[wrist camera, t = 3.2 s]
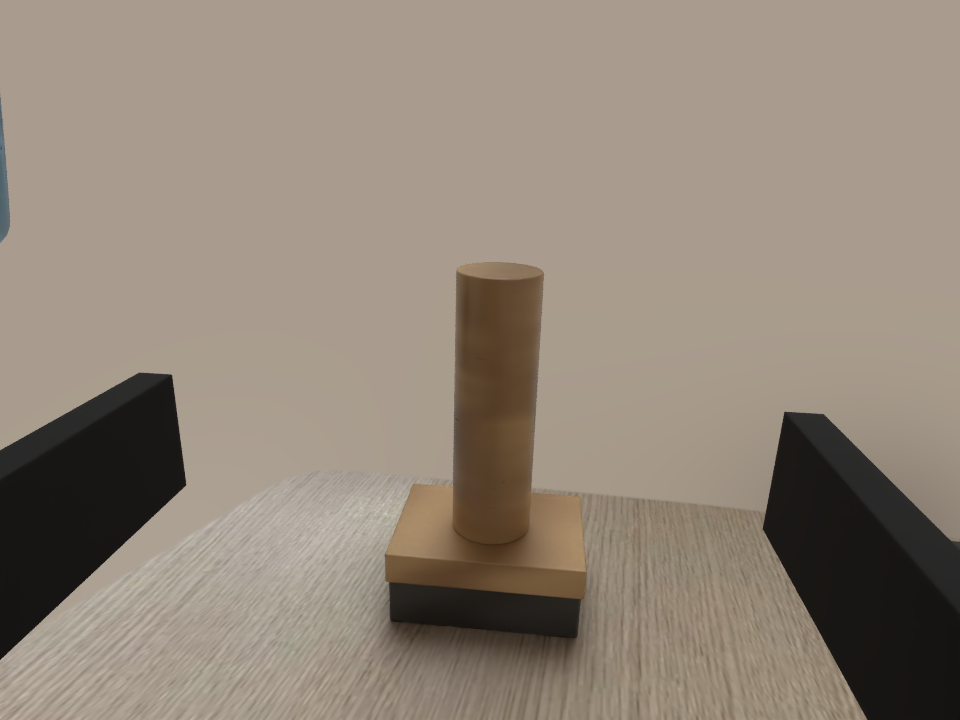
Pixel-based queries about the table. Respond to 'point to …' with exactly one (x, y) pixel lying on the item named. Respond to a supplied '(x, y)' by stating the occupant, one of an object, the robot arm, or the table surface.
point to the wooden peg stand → (491, 483)
